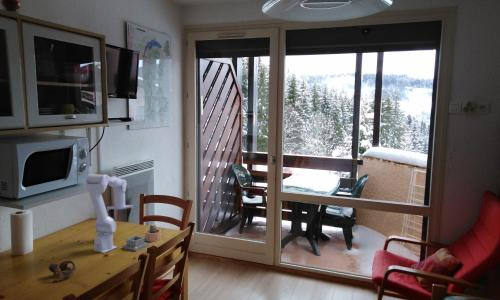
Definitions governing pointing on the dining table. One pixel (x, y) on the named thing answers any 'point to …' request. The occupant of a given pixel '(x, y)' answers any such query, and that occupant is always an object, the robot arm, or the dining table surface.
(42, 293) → the dining table surface
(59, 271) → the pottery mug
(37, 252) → the dining table surface
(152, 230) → the battery cell
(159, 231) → the cup
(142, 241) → the checker housing
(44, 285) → the dining table surface
